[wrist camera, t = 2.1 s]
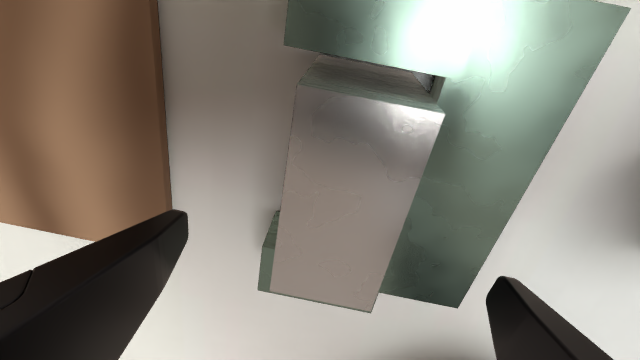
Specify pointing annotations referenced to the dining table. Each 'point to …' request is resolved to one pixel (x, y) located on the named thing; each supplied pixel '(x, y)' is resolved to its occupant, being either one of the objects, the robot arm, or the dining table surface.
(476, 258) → the green base
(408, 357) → the dining table surface
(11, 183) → the walnut mat
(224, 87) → the dining table surface
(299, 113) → the steel bar
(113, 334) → the robot arm
